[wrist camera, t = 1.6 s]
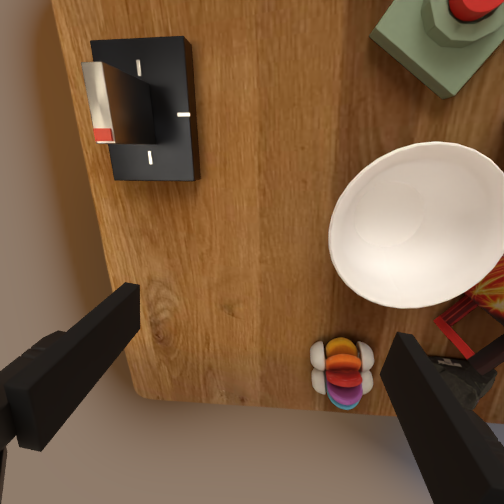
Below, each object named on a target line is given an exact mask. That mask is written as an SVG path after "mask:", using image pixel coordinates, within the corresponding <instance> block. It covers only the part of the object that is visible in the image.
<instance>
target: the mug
mask: <svg viewBox="0 0 504 504" xmlns="http://www.w3.org/2000/svg"><path fill="white" fill-rule="evenodd" d="M464 294H465V296H464V297H463V298H461V299H460V300H459V301H458V302H456V303H455V304H454V305H453V306H451V307H450V308H449V309H448V310H446V311H445V312H444V313H443V314H442V315H440V316H439V317H437V318H436V319H435V320H433V321H434V323H435V324H436V325H437V326H438V327H439V329H440V330H441V331H442V332H443V333H444V334H445V336H446V337H447V338H448V339H449V340H450V341H451V342H453V344H454V345H455V346H456V347H457V348H458V349H459V351H460V352H461V353H462V354H463V355H464V357H465V358H466V359H467V360H468V361H469V362H470V364H471V365H472V366H473V367H474V368H475V369H476V371H478V372H479V373H480V374H481V375H484V374H486V373H487V372H489V371H491V370H492V369H494V368H495V367H497V366H498V365H500V364H501V363H503V362H504V334H503V335H501V336H500V337H498V338H497V339H496V340H494V341H493V342H491V343H490V344H489V345H487V346H486V347H484V348H483V349H481V350H480V351H479V352H477V353H476V354H475V353H474V352H473V351H472V349H471V348H470V347H469V346H468V345H467V344H466V343H465V342H464V341H463V340H462V339H461V337H460V336H459V335H458V334H457V333H456V332H455V331H454V330H453V329H452V328H451V327H452V326H453V325H454V324H455V323H457V322H458V321H459V320H461V319H462V318H463V317H465V316H466V315H467V314H468V313H470V312H471V311H472V310H474V309H475V308H476V307H477V306H480V307H481V308H482V309H484V310H485V311H486V312H487V313H488V314H490V315H491V316H492V317H493V318H495V319H496V320H497V321H498V322H499V323H501V324H502V325H503V326H504V254H503V256H502V257H501V258H500V260H499V261H498V262H497V264H496V265H495V267H494V268H493V269H492V270H491V271H490V272H489V273H488V274H487V275H486V276H485V277H484V278H483V279H482V280H481V281H480V282H479V283H477V284H476V285H474V286H473V287H472V288H470V289H469V290H467V291H466V292H464Z"/></svg>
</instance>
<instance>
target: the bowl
mask: <svg viewBox="0 0 504 504" xmlns="http://www.w3.org/2000/svg"><path fill="white" fill-rule="evenodd" d="M328 247H329V251H330V256H331V260H332V262H333V265H334V267H335V269H336V271H337V273H338V275H339V276H340V277H341V278H342V280H343V281H344V282H345V284H346V285H347V286H349V287H350V288H351V289H352V290H353V291H354V292H356V293H357V294H358V295H360V296H362V297H363V298H365V299H367V300H369V301H371V302H374V303H377V304H380V305H383V306H387V307H394V308H400V309H401V308H421V307H427V306H433V305H436V304H439V303H442V302H445V301H448V300H451V299H452V298H454V297H456V296H458V295H460V294H462V293H464V292H466V291H467V290H469V289H470V288H472V287H473V286H474V285H476V284H477V283H479V282H480V281H481V280H482V279H483V278H484V277H485V276H486V275H487V274H488V273H489V272H490V271H491V270H492V269H493V268H494V267H495V265H496V264H497V262H498V261H499V260H500V258H501V257H502V256H503V254H504V173H503V171H502V170H501V169H500V168H499V167H498V166H497V165H496V164H495V163H494V162H493V161H492V160H491V159H489V158H488V157H486V156H485V155H483V154H481V153H480V152H478V151H477V150H475V149H472V148H469V147H466V146H463V145H460V144H457V143H447V142H438V141H436V142H425V143H416V144H413V145H409V146H406V147H402V148H399V149H396V150H394V151H392V152H390V153H388V154H386V155H384V156H382V157H380V158H378V159H376V160H375V161H374V162H372V163H371V164H370V165H368V166H367V167H365V168H364V169H363V170H362V171H361V172H360V173H359V174H358V175H357V176H356V177H355V178H354V179H353V180H352V181H351V182H350V183H349V184H348V186H347V187H346V189H345V190H344V192H343V193H342V195H341V196H340V198H339V199H338V201H337V204H336V206H335V208H334V211H333V213H332V216H331V221H330V226H329V230H328Z"/></svg>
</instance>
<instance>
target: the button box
mask: <svg viewBox="0 0 504 504" xmlns="http://www.w3.org/2000/svg"><path fill="white" fill-rule="evenodd" d="M369 37H370V38H371V39H372V40H374V41H375V42H376V43H377V44H378V45H379V46H381V47H382V48H383V49H384V50H385V51H386V52H388V53H389V54H390V55H391V56H392V57H393V58H395V59H396V60H397V61H398V62H399V63H400V64H402V65H403V66H404V67H405V68H406V69H407V70H409V71H410V72H411V73H412V74H413V75H414V76H416V77H417V78H418V79H419V80H420V81H421V82H423V83H424V84H425V85H426V86H427V87H429V88H430V89H431V90H432V91H433V92H434V93H436V94H437V95H438V96H439V97H440V98H441V99H446V98H449V97H452V96H455V95H456V93H457V92H458V91H459V90H460V89H461V88H462V87H463V85H464V84H465V83H466V82H467V81H468V80H469V79H470V77H471V76H472V75H473V74H474V73H475V72H476V71H477V69H478V68H479V67H480V66H481V65H482V64H483V63H484V61H485V60H486V59H487V58H488V57H489V56H490V55H491V53H492V52H493V51H494V50H495V49H496V48H497V47H498V45H499V44H500V43H501V42H502V41H503V40H504V2H503V3H502V4H501V5H499V6H498V7H497V8H495V9H494V10H492V11H491V12H489V13H488V14H486V15H485V16H483V17H481V18H479V19H477V20H474V21H462V20H459V19H457V18H456V17H455V16H454V15H453V13H452V12H451V10H450V6H449V0H394V1H393V3H392V4H391V5H390V7H389V8H388V10H387V11H386V12H385V14H384V15H383V17H382V18H381V20H380V21H379V22H378V24H377V25H376V27H375V28H374V30H373V31H372V32H371V34H370V35H369Z"/></svg>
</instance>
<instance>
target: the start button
mask: <svg viewBox="0 0 504 504" xmlns="http://www.w3.org/2000/svg"><path fill="white" fill-rule="evenodd" d="M503 2H504V0H449V6H450V10H451V12H452V13H453V15H454V16H455V17H456V18H457V19H459V20H462V21H474V20H477V19H479V18H481V17H483V16H485V15H486V14H488V13H489V12H491V11H492V10H494V9H495V8H497V7H498V6H499V5H501V4H502V3H503Z"/></svg>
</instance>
